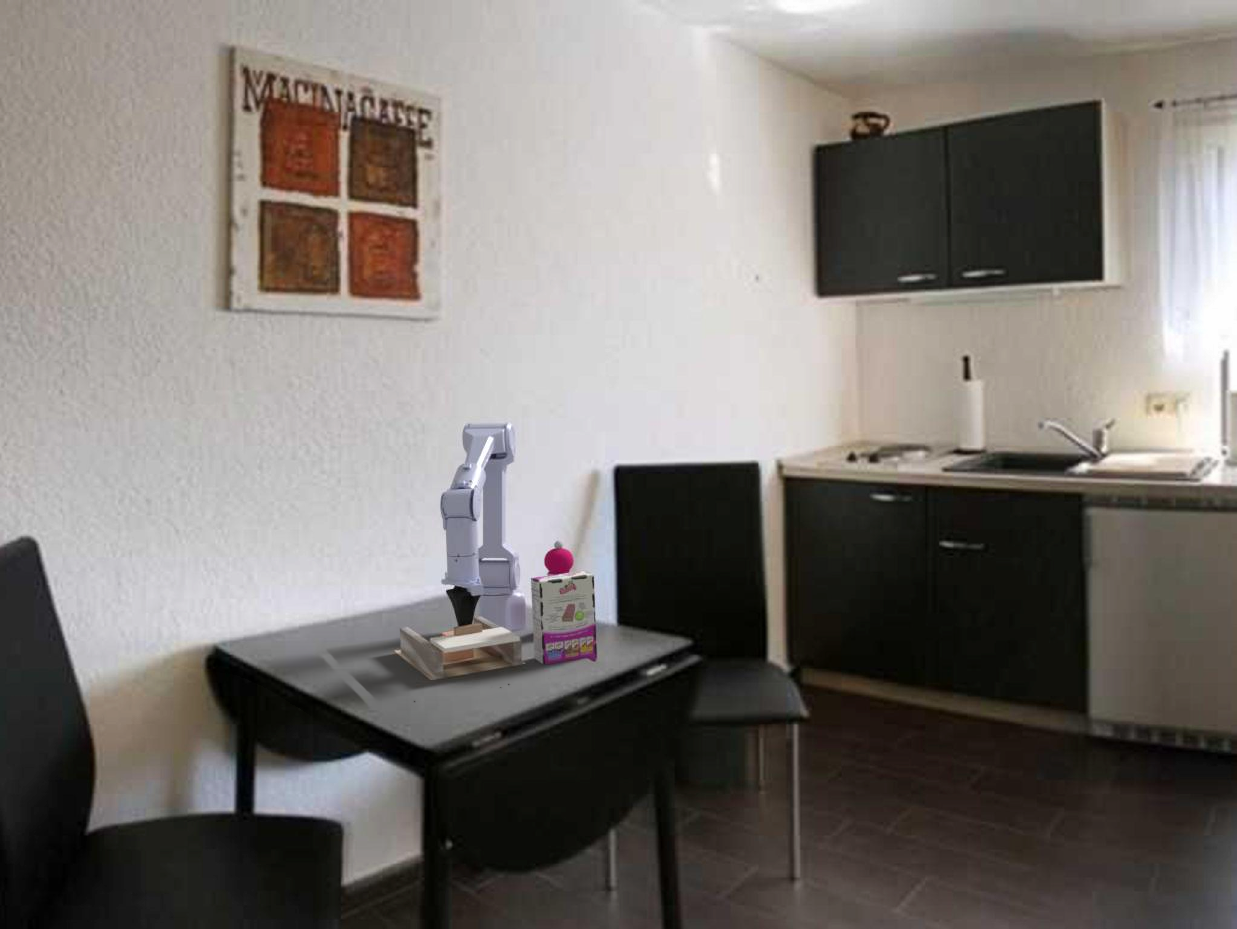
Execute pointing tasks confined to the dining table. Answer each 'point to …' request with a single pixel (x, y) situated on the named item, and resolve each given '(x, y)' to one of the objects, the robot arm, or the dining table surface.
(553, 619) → the candy bar box
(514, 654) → the beige wooden low frame
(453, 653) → the terracotta block
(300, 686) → the dining table surface
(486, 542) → the robot arm
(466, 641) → the sliding lid
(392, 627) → the dining table surface
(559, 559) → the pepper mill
